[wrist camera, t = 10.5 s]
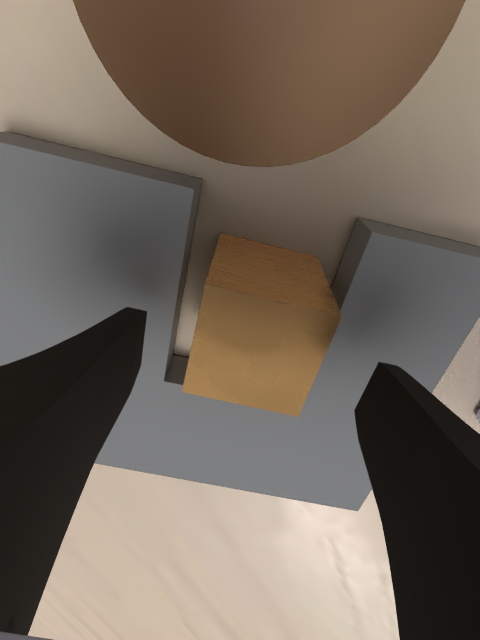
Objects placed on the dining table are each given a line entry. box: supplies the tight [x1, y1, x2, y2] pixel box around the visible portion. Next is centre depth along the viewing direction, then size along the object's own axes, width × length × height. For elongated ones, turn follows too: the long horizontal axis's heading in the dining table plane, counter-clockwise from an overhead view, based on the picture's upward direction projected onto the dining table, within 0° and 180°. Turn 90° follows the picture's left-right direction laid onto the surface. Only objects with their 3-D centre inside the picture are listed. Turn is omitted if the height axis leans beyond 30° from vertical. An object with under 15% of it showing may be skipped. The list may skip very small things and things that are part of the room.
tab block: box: [182, 233, 342, 417], centre depth 14 cm, size 4×4×5 cm
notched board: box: [0, 132, 480, 511], centre depth 16 cm, size 18×14×2 cm
